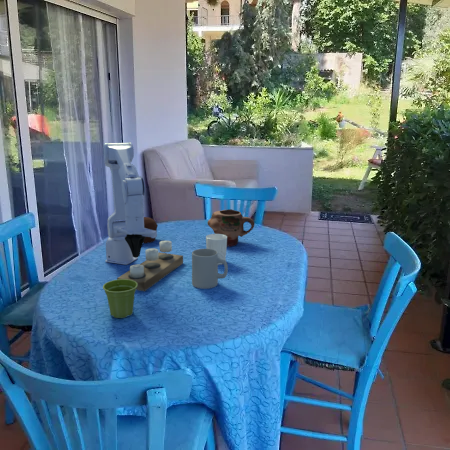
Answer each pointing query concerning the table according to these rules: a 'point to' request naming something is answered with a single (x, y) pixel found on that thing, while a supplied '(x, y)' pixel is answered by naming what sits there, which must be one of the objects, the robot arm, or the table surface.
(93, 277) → the table surface
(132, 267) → the knob near
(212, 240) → the white cup
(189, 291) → the table surface
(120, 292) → the plant pot
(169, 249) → the knob far
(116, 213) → the robot arm
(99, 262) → the table surface
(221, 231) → the brown ceramic rounded pot
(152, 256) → the knob middle
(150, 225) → the muffin
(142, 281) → the knob strip
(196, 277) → the mug
